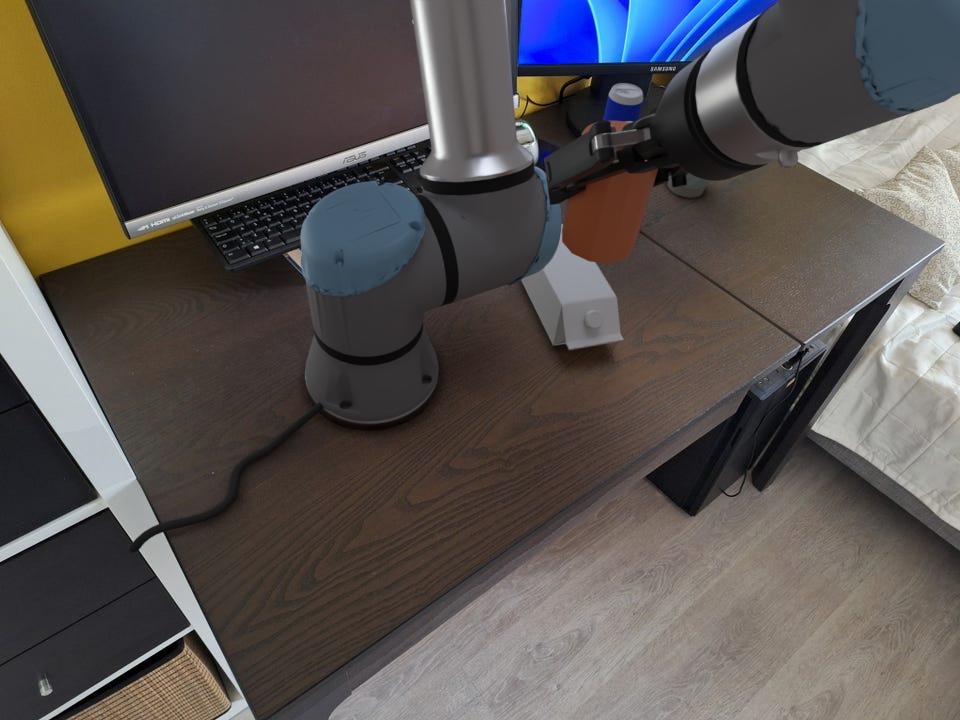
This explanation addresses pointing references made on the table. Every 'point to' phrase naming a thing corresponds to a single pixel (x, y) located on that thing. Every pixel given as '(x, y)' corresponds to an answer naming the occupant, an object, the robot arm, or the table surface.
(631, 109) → the beverage can
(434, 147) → the robot arm
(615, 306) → the juice carton
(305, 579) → the table surface
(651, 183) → the cylinder
